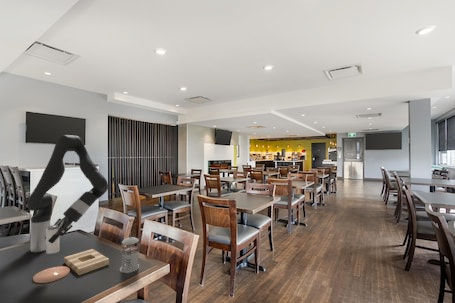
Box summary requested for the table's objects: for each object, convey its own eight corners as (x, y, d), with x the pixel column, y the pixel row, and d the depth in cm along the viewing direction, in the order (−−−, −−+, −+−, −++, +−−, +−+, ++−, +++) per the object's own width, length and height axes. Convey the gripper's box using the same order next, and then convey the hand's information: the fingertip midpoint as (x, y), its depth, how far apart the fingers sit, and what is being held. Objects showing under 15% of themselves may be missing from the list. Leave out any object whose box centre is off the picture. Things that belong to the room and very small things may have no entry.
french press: (127, 274, 113) (128, 222, 113) (113, 268, 119) (113, 218, 119) (144, 266, 121) (145, 217, 121) (130, 260, 127) (130, 214, 128)
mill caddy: (64, 262, 125) (64, 257, 125) (92, 254, 136) (92, 248, 136) (79, 275, 112) (79, 268, 112) (108, 264, 123) (109, 258, 123)
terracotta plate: (29, 276, 111) (29, 274, 111) (64, 265, 122) (64, 263, 122) (37, 286, 102) (37, 284, 102) (74, 274, 113) (74, 272, 113)
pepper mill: (44, 251, 112) (44, 226, 112) (57, 248, 116) (57, 224, 116) (47, 254, 109) (47, 228, 109) (61, 251, 113) (61, 226, 113)
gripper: (65, 204, 123) (36, 233, 113) (76, 208, 114) (45, 240, 104) (77, 212, 127) (50, 241, 117) (88, 217, 118) (59, 248, 108)
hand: (48, 240), depth 111 cm, fingers closed on pepper mill, 5 cm apart
